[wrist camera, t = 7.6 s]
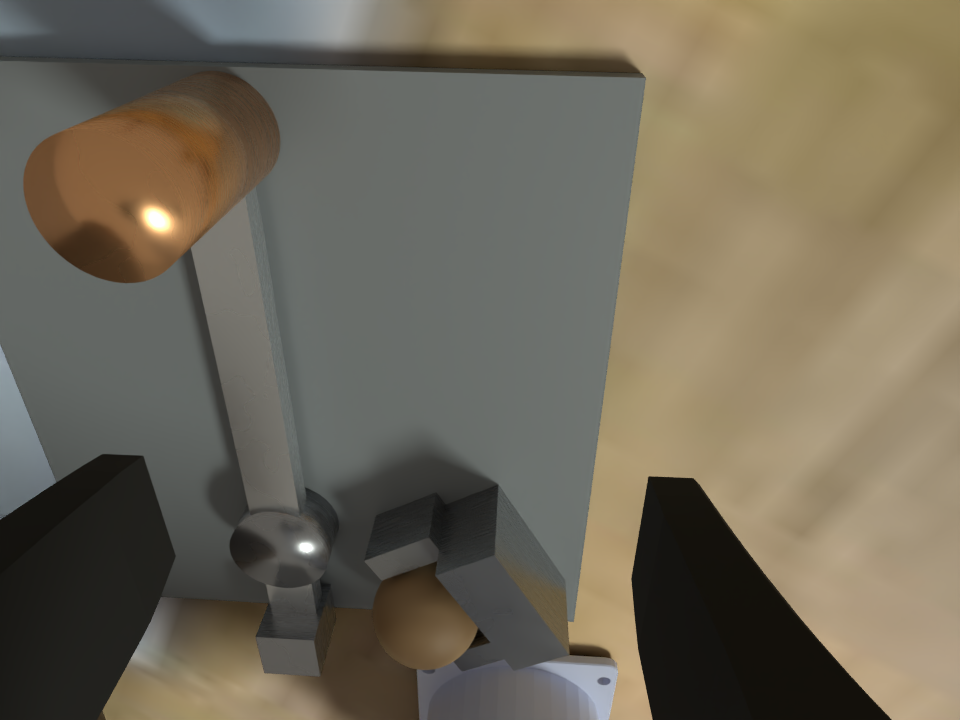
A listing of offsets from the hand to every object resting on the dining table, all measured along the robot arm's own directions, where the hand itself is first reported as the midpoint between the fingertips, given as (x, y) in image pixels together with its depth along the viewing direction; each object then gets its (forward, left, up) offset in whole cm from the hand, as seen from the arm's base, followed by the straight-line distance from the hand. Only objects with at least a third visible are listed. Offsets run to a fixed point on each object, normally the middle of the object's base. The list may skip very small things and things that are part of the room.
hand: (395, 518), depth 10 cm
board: (-5, +5, -10) cm, 12 cm away
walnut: (-12, +1, -10) cm, 16 cm away
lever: (-5, +6, -10) cm, 12 cm away
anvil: (-11, -1, -10) cm, 15 cm away
